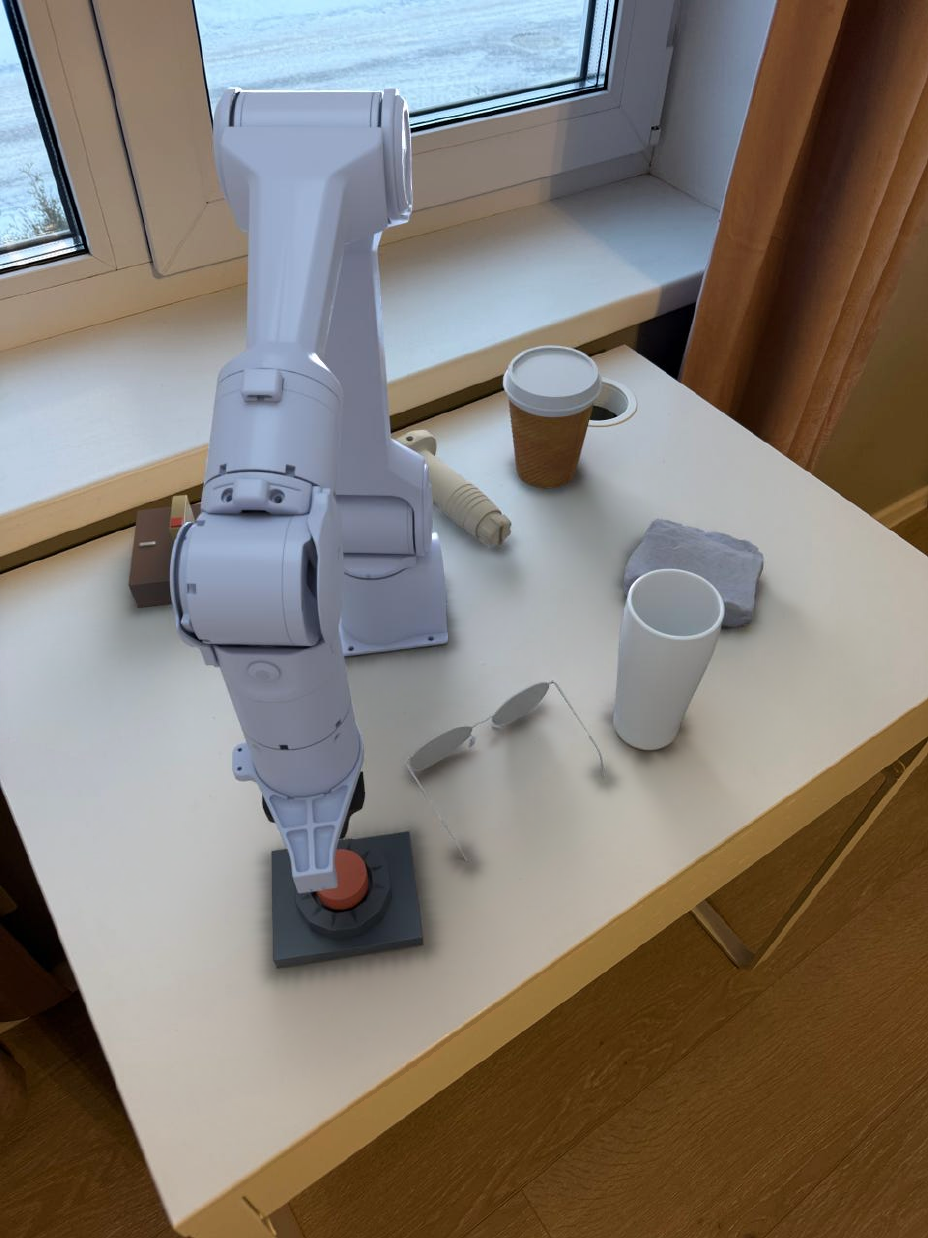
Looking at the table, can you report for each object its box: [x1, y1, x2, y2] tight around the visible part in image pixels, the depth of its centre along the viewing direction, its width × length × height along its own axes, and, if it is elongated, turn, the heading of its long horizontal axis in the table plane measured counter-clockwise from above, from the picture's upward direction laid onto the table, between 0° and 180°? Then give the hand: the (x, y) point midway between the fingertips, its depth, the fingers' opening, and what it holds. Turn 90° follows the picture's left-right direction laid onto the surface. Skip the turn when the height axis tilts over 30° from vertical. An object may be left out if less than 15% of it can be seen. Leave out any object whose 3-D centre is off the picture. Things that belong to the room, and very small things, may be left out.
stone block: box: [622, 518, 765, 628], centre depth 82 cm, size 12×5×10 cm
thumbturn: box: [169, 494, 196, 542], centre depth 82 cm, size 4×1×4 cm, turn 8°
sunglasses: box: [404, 679, 606, 862], centre depth 68 cm, size 14×8×5 cm, turn 122°
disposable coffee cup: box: [502, 345, 603, 489], centre depth 90 cm, size 10×10×12 cm
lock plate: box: [127, 503, 201, 608], centre depth 84 cm, size 10×10×3 cm
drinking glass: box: [612, 569, 725, 751], centre depth 67 cm, size 7×7×15 cm
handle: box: [394, 429, 513, 547], centre depth 89 cm, size 5×6×15 cm
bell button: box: [316, 849, 369, 910], centre depth 61 cm, size 4×4×2 cm
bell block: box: [270, 830, 425, 969], centre depth 62 cm, size 10×8×3 cm
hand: (328, 831), depth 55 cm, fingers closed
